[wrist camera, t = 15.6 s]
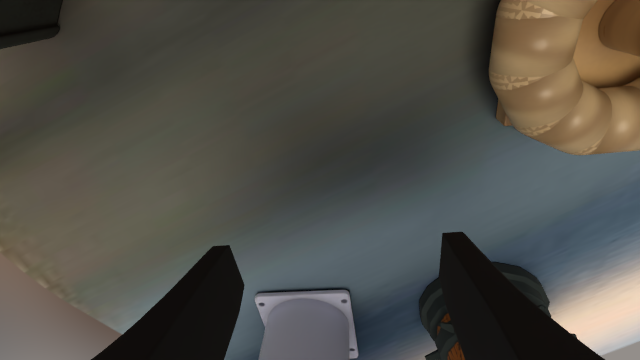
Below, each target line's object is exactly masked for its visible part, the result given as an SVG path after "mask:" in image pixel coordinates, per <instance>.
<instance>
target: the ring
mask: <svg viewBox="0 0 640 360" xmlns="http://www.w3.org/2000/svg"><path fill="white" fill-rule="evenodd" d="M597 1H598V0H501V1H500V3H499V6H498V9H497V13H496V19H495V26H494V34H493V41H492V49H491V57H490V64H489V79H490V83H491V85H492V87H493V89H494V91H495V93H496V95H497V97H498V99H499V101H500V103H501V105H502V107H503V109H504V111H505V113H506V115H507V116H508V118H509V120H510V122H511V124H512V125H513V126H514V128H515V129H516V130H518V131H519V132H521V133H522V134H524V135H526V136H528V137H531V138H533V139H535V140H537V141H540V142H542V143H544V144H546V145H549V146H551V147H553V148H555V149H557V150H560V151H562V152H565V153H568V154H573V155H590V154H602V153H613V152H625V151H637V150H640V77H639V78H637V79H635V80H634V81H632V82H630V83H628V84H626V85H624V86H618V87H609V88H599V89H598V88H596V87H594V86H592V85H590V84H587V83H585V82H583V81H581V78H580V75H579V73H578V70H577V67H576V64H575V62H574V59H573V56H574V52H575V48H576V44H577V40H578V37H579V33H580V29H581V25H582V21H583V19H584V17H585V16H586V15H587V13H588V12H589V11H590V10H591V8H592V7H593V6H594V4H595V3H596V2H597Z"/></svg>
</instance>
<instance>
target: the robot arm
mask: <svg viewBox="0 0 640 360" xmlns="http://www.w3.org/2000/svg"><path fill="white" fill-rule="evenodd" d="M439 279H440V284H441V288H442V292H443V296H444V301H445V305H446V308H447V311H448V314H449V317H450V319H451V322H452V325H453V328H454V331H455V333H456V336H457V339H458V342H459V344H460V347H461V350H462V353H463V355H464V358H465V360H605V359H603V358H602V357H600V356H599V355H598V354H596V353H595V352H594V351H592V350H591V349H590V348H588V347H587V346H586V345H584V344H583V343H582V342H580V341H579V340H578V339H577V338H575V337H574V336H573V335H572V334H570V333H569V332H568V331H566V330H565V329H564V328H563V327H561V326H560V325H559V324H558V323H557V322H555V321H554V320H553V319H552V318H551V317H549V316H548V315H547V314H546V313H545V312H544V311H542V310H541V309H540V308H539V307H538V306H537V305H536V304H534V303H533V302H532V301H531V300H530V299H529V298H528V297H527V296H526V295H524V294H523V293H522V292H521V291H520V290H519V289H518V288H517V287H516V286H515V285H514V284H513V283H512V282H511V281H510V280H509V279H508V278H507V277H506V276H505V275H504V274H502V273H501V272H500V271H499V270H498V269H497V268H496V267H495V266H494V265H493V263H492V262H491V261H490V260H489V259H488V258H487V257H486V256H485V255H484V254H483V253H482V252H481V251H480V250H479V249H478V248H477V247H476V245H475V244H474V243H473V242H472V241H471V240H470V239H469V238H468V237H467V236H466V235H465V234H464V233H463V232H451V233H442V246H441V258H440V270H439ZM243 290H244V282H243V280H242V277H241V275H240V272H239V269H238V267H237V264H236V261H235V259H234V256H233V253H232V251H231V248H230V246H229V245H226V246H213V247H212V248H211V249H210V250H209V251H208V252H207V253H206V254H205V255H204V256H203V257H202V258H201V259H200V260H199V261H198V262H197V263H196V264H195V265H194V266H193V267H192V268H191V269H190V270H189V271H188V273H187V274H186V275H185V276H184V277H183V278H182V279H181V280H180V281H179V282H178V283H177V284H176V285H175V286H174V287H173V288H172V289H171V290H170V291H169V292H168V293H167V294H166V295H165V296H164V297H163V298H162V299H161V300H160V301H159V302H158V303H157V304H156V305H155V306H153V307H152V308H151V309H150V310H149V311H148V312H147V313H146V314H145V315H144V316H143V317H142V318H141V319H140V320H139V321H138V322H136V323H135V324H134V325H133V326H132V327H131V328H130V329H128V330H127V331H126V332H125V333H124V334H123V335H121V336H120V337H119V338H118V339H117V340H115V341H114V342H113V343H112V344H111V345H109V346H108V347H107V348H106V349H104V350H103V351H102V352H101V353H99V354H98V355H97V356H95V357H94V358H93V359H91V360H224V358H225V354H226V351H227V348H228V345H229V342H230V339H231V336H232V333H233V330H234V327H235V324H236V321H237V318H238V315H239V311H240V306H241V301H242V296H243ZM255 303H256V305H257V308H258V310H259V313H260V315H261V318H262V321H263V323H264V326H265V332H264V337H263V341H262V346H261V350H260V354H259V359H258V360H349V358H357V357H358V347H357V340H356V334H355V327H354V320H353V313H352V307H351V300H350V293H349V292H348V291H347V290H324V291H300V292H277V293H259V294H256V296H255Z"/></svg>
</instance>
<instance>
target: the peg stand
mask: <svg viewBox="0 0 640 360" xmlns="http://www.w3.org/2000/svg"><path fill="white" fill-rule="evenodd" d="M573 59H574V62H575V64H576V67H577V70H578V73H579V75H580V78H581V81H583V82H585V83H587V84H590V85H592V86H594V87H596V88H598V89H599V88H609V87H618V86H624V85H626V84H628V83H630V82H632V81H634V80H635V79H637V78H639V77H640V0H598V1H597V2H596V3H595V4H594V6H593V7H592V8H591V10H590V11H589V12H588V13H587V15H586V16H585V17H584V19H583V21H582V25H581V29H580V33H579V37H578V40H577V44H576V48H575V52H574V56H573ZM496 119H497V120H498V121H500V122H501V123H502V124H503V125H504V126H510V125H512V124H511V122H510V120H509V118H508V116H507V115H506V113H505V111H504V109H503V107H502V105H501V103H500V101H499V100H498V106H497V113H496Z"/></svg>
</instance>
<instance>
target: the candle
mask: <svg viewBox="0 0 640 360" xmlns="http://www.w3.org/2000/svg"><path fill="white" fill-rule="evenodd" d="M61 2H62V0H0V49H3V48H7V47H12V46H17V45H21V44H26V43H30V42H35V41H40V40H44V39H49V38H52V37H54V36H55V35H56V34H57V33H58V31H59V25H58V24H57V19H58V15H59V10H60V6H61Z"/></svg>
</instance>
